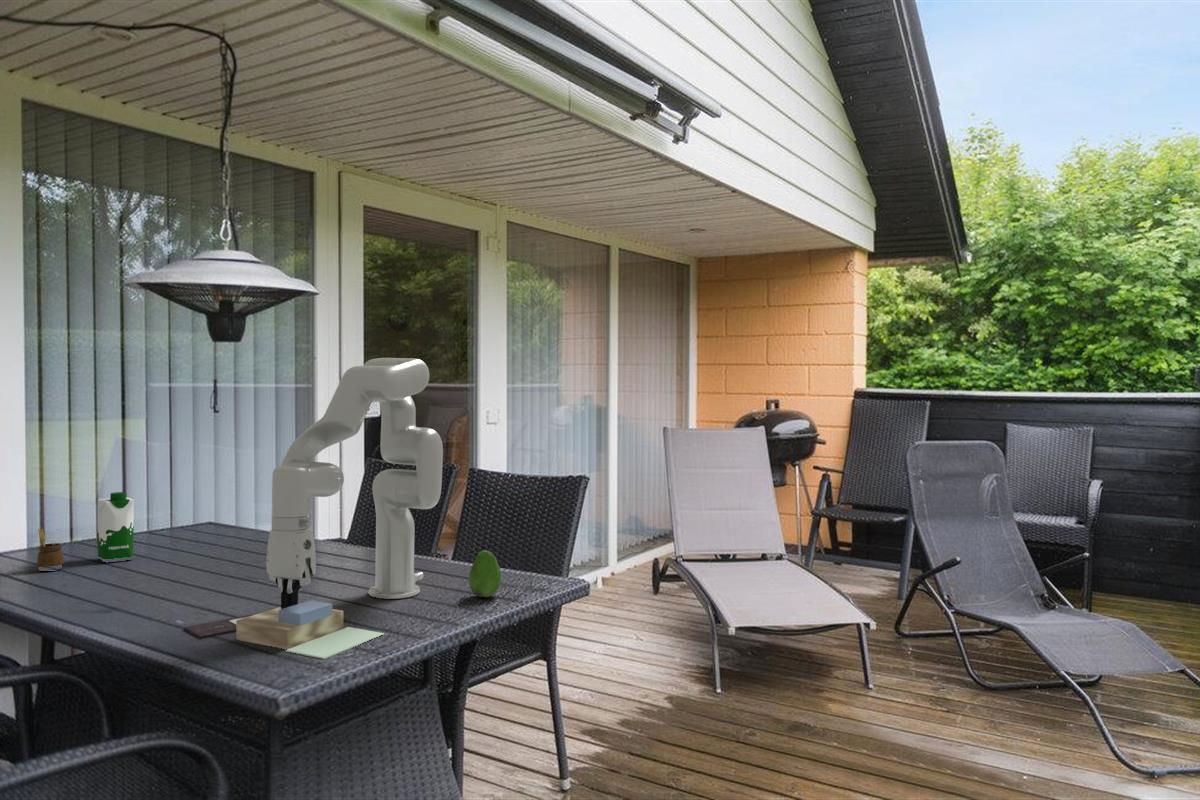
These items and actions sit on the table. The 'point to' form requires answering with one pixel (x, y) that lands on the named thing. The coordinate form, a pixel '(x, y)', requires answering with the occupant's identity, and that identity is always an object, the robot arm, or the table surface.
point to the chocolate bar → (215, 627)
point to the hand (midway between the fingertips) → (289, 610)
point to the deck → (285, 629)
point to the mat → (334, 643)
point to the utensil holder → (49, 552)
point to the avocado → (485, 575)
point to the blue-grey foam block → (305, 612)
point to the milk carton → (115, 526)
